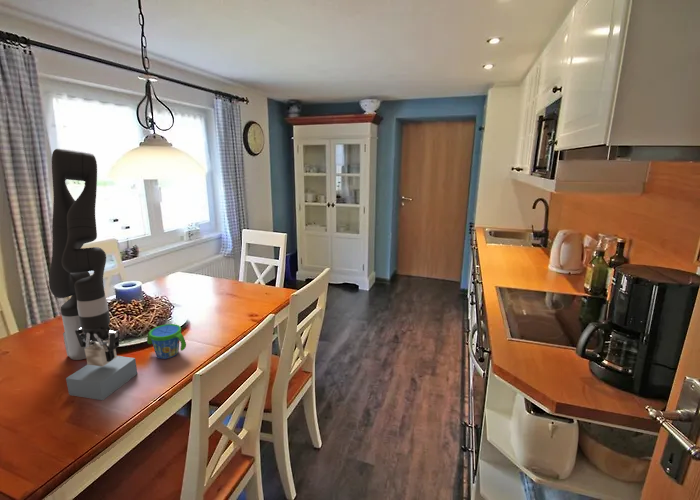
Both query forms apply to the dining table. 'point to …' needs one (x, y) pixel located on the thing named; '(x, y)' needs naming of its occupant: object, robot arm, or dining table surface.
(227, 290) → the dining table surface
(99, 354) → the cream cube
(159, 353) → the snack cup
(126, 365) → the slate stand
